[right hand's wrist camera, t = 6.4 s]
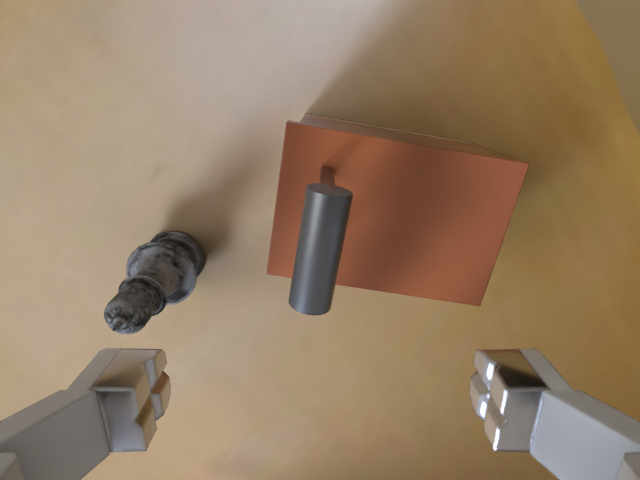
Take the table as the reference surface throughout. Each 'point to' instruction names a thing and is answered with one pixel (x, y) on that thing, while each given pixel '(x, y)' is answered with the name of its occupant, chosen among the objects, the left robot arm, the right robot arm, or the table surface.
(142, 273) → the grey chess piece
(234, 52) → the table surface
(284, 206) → the lid
